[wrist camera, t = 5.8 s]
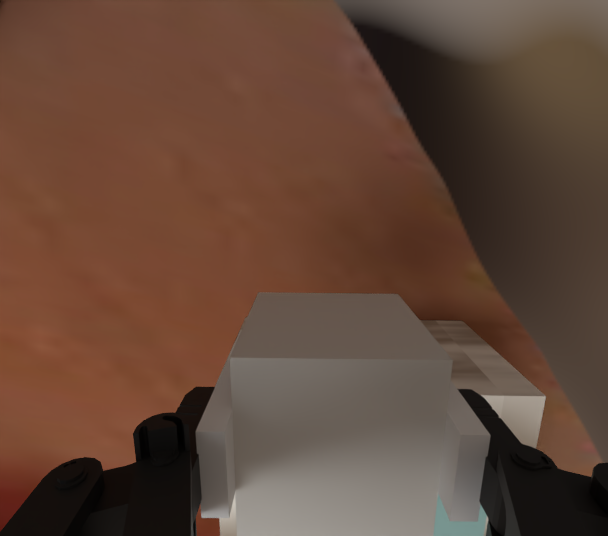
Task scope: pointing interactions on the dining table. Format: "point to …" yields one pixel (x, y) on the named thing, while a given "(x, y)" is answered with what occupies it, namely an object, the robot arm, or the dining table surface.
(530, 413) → the crate
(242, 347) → the light grey cube
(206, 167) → the dining table surface
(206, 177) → the dining table surface
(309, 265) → the dining table surface
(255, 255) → the dining table surface
